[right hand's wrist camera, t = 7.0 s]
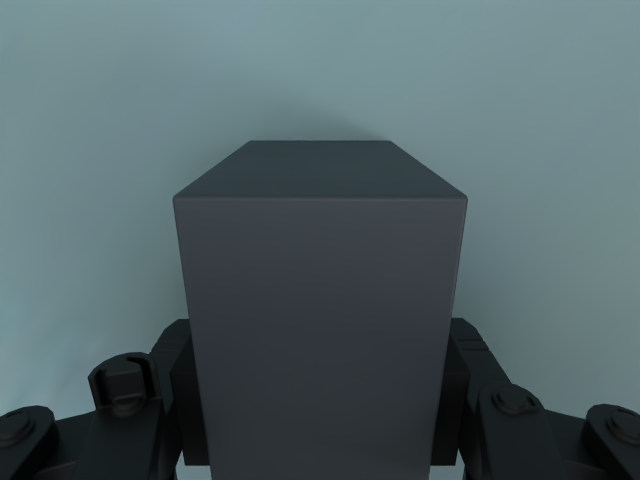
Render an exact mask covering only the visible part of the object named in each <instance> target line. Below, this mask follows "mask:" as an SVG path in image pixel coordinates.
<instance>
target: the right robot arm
mask: <svg viewBox="0 0 640 480" xmlns="http://www.w3.org/2000/svg"><path fill="white" fill-rule="evenodd" d="M88 381H89V384H90V388H91V392H92V396H93V399H94V403H95V407H96V410H95V411H93V412H89V413H86V414H82V415H78V416H74V417H70V418H65V419H61V420H57V421H56V420H55V417H54V414H53V412H52V411H51V410H50V409H49V408H48V407H44V406H37V405H36V406H29V407H23V408H20V409H17V410H14V411H11V412H8V413H6V414H5V415H3V416H1V417H0V480H177V474H176V468H175V467H176V464H177V462H178V459H179V456H180V454H181V451H183V456H184V462H185V466H210V462H209V455H208V448H207V441H206V434H205V427H204V420H203V413H202V405H201V398H200V391H199V384H198V377H197V370H196V363H195V356H194V349H193V341H192V334H191V327H190V320H189V319H178V320H176V321H175V322H174V323H172V324H171V325H170V326H168V327H167V328H166V329H165V330H164V331H163V333H162V334H161V336H160V338H159V339H158V342H157V343H156V344H155V345H154V347H153V348H152V352H150V353H149V354H145V353H142V352H132V353H125V354H121V355H117V356H114V357H112V358H110V359H108V360H106V361H104V362H102V363H101V364H100V365H98V366H97V367H96V368H94V369H93V371H92V372H91V373H90V375H89V376H88ZM458 449H459V451H460V454H461V456H462V459H463V462H464V464H465V468H464V474H463V479H462V480H640V415H639V414H637V413H636V412H634V411H631V410H629V409H626V408H623V407H620V406H616V405H609V404H600V405H594V406H593V407H591V408H590V409H589V410H588V412H587V415H586V418H585V419H582V418H577V417H573V416H569V415H565V414H560V413H556V412H553V411H550V410H546V409H544V407H543V406H542V404H541V402H540V401H539V399H538V398H536V397H535V396H534V395H533V394H532V393H531V392H529V391H528V390H526V389H524V388H522V387H520V386H518V385H515V384H512V383H511V382H510V380H509V379H508V377H507V375H506V374H505V372H504V371H503V369H502V368H501V366H500V365H499V363H498V362H497V360H496V359H495V357H494V356H493V354H492V352H491V351H489V348H488V346H487V345H486V343H485V342H484V341H483V339H482V337H481V336H480V334H479V333H478V331H477V329H476V328H475V327H474V326H472V325H471V324H470V323H468V322H467V321H466V320H464V319H463V318H451V323H450V330H449V337H448V344H447V351H446V358H445V365H444V372H443V379H442V387H441V394H440V401H439V408H438V415H437V422H436V429H435V436H434V443H433V450H432V457H431V465H430V466H455V464H456V458H457V452H458Z"/></svg>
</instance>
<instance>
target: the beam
mask: <svg viewBox="0 0 640 480" xmlns="http://www.w3.org/2000/svg"><path fill="white" fill-rule="evenodd" d="M467 202H468V199H467V196H466V195H464V194H463V193H462V192H460V191H459V190H458V189H456V188H455V187H453V186H452V185H451V184H449V183H448V182H446V181H445V180H444V179H442V178H441V177H440V176H438V175H437V174H435V173H434V172H433V171H431V170H430V169H429V168H427V167H426V166H424V165H423V164H422V163H420V162H419V161H417V160H416V159H415V158H413V157H412V156H411V155H409V154H408V153H406V152H405V151H404V150H402V149H401V148H400V147H398V146H397V145H395V144H394V143H393V142H391V141H249V142H248V143H246V144H245V145H243V146H242V147H241V148H239V149H238V150H237V151H235V152H234V153H232V154H231V155H230V156H228V157H227V158H226V159H224V160H223V161H221V162H220V163H219V164H217V165H216V166H215V167H213V168H212V169H210V170H209V171H208V172H206V173H205V174H204V175H202V176H201V177H199V178H198V179H197V180H195V181H194V182H192V183H191V184H190V185H188V186H187V187H186V188H184V189H183V190H181V191H180V192H179V193H177V194H176V195H175V196H174V197H173V206H174V213H175V220H176V228H177V235H178V242H179V249H180V256H181V263H182V270H183V277H184V285H185V292H186V299H187V306H188V313H189V320H190V327H191V334H192V341H193V349H194V356H195V363H196V370H197V377H198V384H199V391H200V398H201V405H202V413H203V420H204V427H205V434H206V441H207V448H208V455H209V462H210V469H211V477H212V480H428V479H429V472H430V465H431V457H432V450H433V443H434V436H435V429H436V422H437V415H438V408H439V401H440V394H441V387H442V379H443V372H444V365H445V358H446V351H447V344H448V337H449V330H450V323H451V316H452V308H453V301H454V294H455V287H456V280H457V273H458V266H459V259H460V252H461V245H462V238H463V230H464V223H465V216H466V209H467Z"/></svg>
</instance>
